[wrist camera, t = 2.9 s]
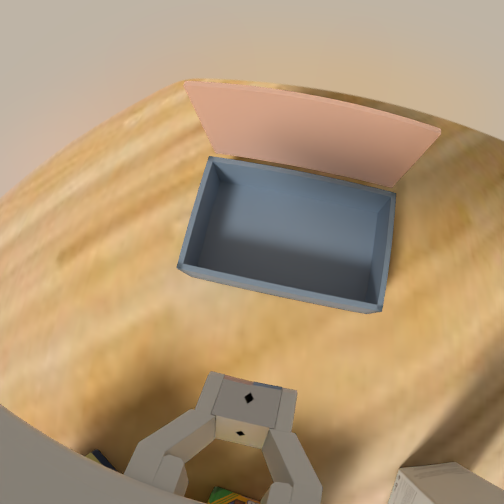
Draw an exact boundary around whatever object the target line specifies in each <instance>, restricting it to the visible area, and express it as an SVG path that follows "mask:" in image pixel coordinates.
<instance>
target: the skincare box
mask: <svg viewBox="0 0 504 504" xmlns="http://www.w3.org/2000/svg"><path fill="white" fill-rule="evenodd" d="M388 504H504V490H502V489H501V488H499V487H497V486H495V485H493V484H492V483H490V482H488V481H487V480H485V479H483V478H481V477H480V476H478V475H476V474H475V473H473V472H471V471H470V470H468V469H466V468H465V467H463V466H461V465H460V464H458V463H457V462H450V463H442V464H434V465H425V466H416V467H404V468H400V469H399V471H398V474H397V477H396V480H395V483H394V486H393V489H392V492H391V495H390V498H389V501H388Z"/></svg>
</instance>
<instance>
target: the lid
mask: <svg viewBox="0 0 504 504" xmlns="http://www.w3.org/2000/svg"><path fill="white" fill-rule="evenodd" d="M183 86H184V88H185V90H186V92H187V94H188V96H189V98H190V101H191V103H192V105H193V107H194V109H195V111H196V113H197V115H198V117H199V120H200V122H201V124H202V126H203V128H204V130H205V132H206V134H207V136H208V139H209V141H210V143H211V145H212V147H213V149H214V151H215V153H218V154H225V155H232V156H239V157H245V158H251V159H258V160H264V161H269V162H275V163H281V164H286V165H291V166H297V167H302V168H307V169H312V170H317V171H322V172H326V173H331V174H336V175H340V176H345V177H349V178H353V179H358V180H362V181H366V182H370V183H374V184H378V185H382V186H386V187H390V188H392V187H393V186H394V185H395V184H396V183H397V182H398V181H399V180H400V179H401V177H402V176H403V175H404V174H405V173H406V172H407V171H408V170H409V169H410V168H411V167H412V166H413V164H414V163H415V162H416V161H417V160H418V159H419V158H420V157H421V156H422V155H423V154H424V152H425V151H426V150H427V149H428V148H429V147H430V146H431V145H432V144H433V142H434V141H435V140H436V139H437V138H438V137H439V136H440V135H441V129H440V128H437V127H434V126H431V125H428V124H425V123H422V122H419V121H416V120H413V119H409V118H406V117H403V116H399V115H396V114H392V113H389V112H385V111H381V110H378V109H374V108H370V107H366V106H362V105H358V104H353V103H349V102H344V101H340V100H335V99H330V98H325V97H320V96H315V95H310V94H304V93H298V92H292V91H285V90H279V89H272V88H264V87H256V86H247V85H238V84H227V83H214V82H199V81H185V83H184V85H183Z"/></svg>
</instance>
